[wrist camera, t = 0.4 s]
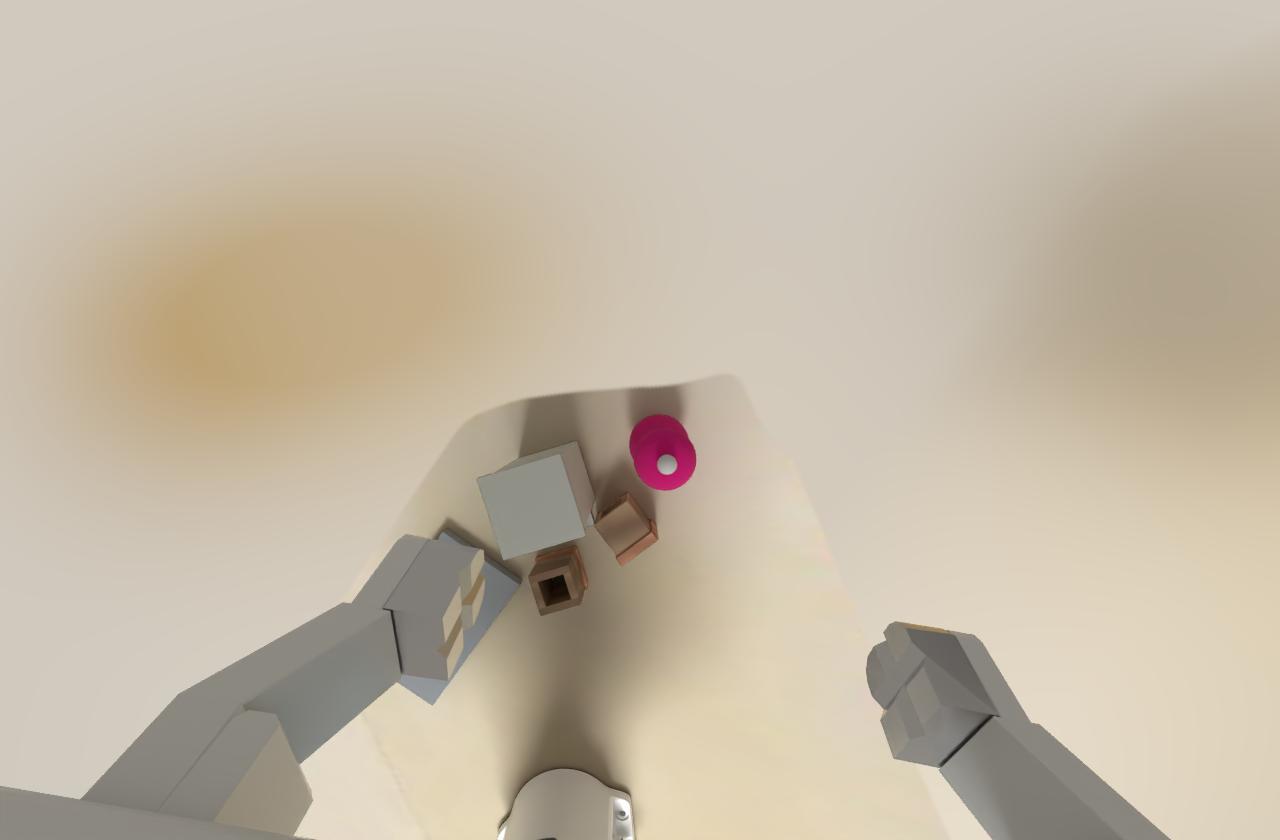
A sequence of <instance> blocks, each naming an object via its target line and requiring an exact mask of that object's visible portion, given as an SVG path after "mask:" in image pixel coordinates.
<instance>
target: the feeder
mask: <svg viewBox="0 0 1280 840" xmlns="http://www.w3.org/2000/svg"><path fill="white" fill-rule="evenodd" d="M477 482H478V485H479V488H480V491H481V494H482V497H483V500H484V503H485V506H486V509H487V512H488V515H489V518H490V521H491V524H492V528H493V531H494V534H495V537H496V540H497V543H498V546H499V549H500V552H501V555H502V558H503V561H504V560H507V559H510V558H514V557H517V556H521V555H524V554H527V553H531V552H534V551H537V550H541V549H544V548H547V547H551V546H554V545H558V544H561V543H564V542H568V541H571V540H574V539H578V538H581V537H585V536H586V534H587V533H586V529H585V527H587V526H590V525H594V523H595V522H594V519H593V515H592V512H591V509H592V506H593V504H594V501H595V496H594V493H593V490H592V487H591V483H590V480H589V477H588V474H587V471H586V467H585V464H584V461H583V458H582V455H581V451H580V448H579V445H578V442H577V441H574V442H571V443H568V444H564V445H561V446H558V447H554V448H551V449H548V450H544V451H541V452H538V453H534V454H531V455H528V456H524V457H521V458H518V459H516V460H515V461H513V462H511V463H509V464H508V465H506V466H504V467H503V468H501V469H499V470H498V471H496V472H494V473H492V474H489V475H485V476H482V477H479V478H477Z"/></svg>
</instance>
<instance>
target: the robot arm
mask: <svg viewBox="0 0 1280 840" xmlns="http://www.w3.org/2000/svg"><path fill="white" fill-rule="evenodd" d="M483 564H484V550H482V549H478V548H474V547H469V546H464V545H459V544H454V543H449V542H444V541H439V540H434V539H428V538H423V537H418V536H413V535H407V534H406V535H404V536H403V537H402V538H400V539H399V540H398V541H397V542H396V543H395V545H394V546H393V547H392V549H391V550H390V551H389V553H388V554H387V555H386V557H385V558H384V560H383V561H382V562H381V564H380V565H379V566H378V568H377V569H376V570H375V572H374V573H373V574H372V576H371V577H370V579H369V580H368V581H367V583H366V584H365V585H364V587H363V588H362V589H361V591H360V592H359V593H358V595H357V596H356V598H355V599H354V600H353V602H352V603H351V604H350V603H341V604H339V605H337V606H336V607H334V608H332V609H330V610H328V611H327V612H325V613H323V614H321V615H320V616H318V617H316V618H314V619H312V620H311V621H309V622H307V623H305V624H303V625H302V626H300V627H298V628H296V629H295V630H293V631H291V632H289V633H287V634H286V635H284V636H282V637H280V638H278V639H276V640H275V641H273V642H271V643H269V644H267V645H266V646H264V647H262V648H261V649H259V650H257V651H255V652H253V653H251V654H250V655H248V656H246V657H244V658H242V659H241V660H239V661H237V662H235V663H234V664H232V665H230V666H228V667H226V668H225V669H223V670H222V671H219V672H217V673H216V674H214V675H212V676H210V677H208V678H207V679H205V680H203V681H201V682H200V683H198V684H196V685H194V686H192V687H190V688H189V689H187V690H185V691H183V692H182V693H180V694H178V695H177V696H176V698H175V699H174V700H173V701H172V702H171V703H170V704H169V705H168V706H167V707H166V708H165V709H164V711H162V712H161V714H160V715H159V716H158V717H157V718H156V719H155V720H154V721H153V722H152V723H151V724H150V725H149V727H147V729H146V730H145V731H144V732H143V733H142V734H141V735H140V736H139V737H138V738H137V739H136V740H135V741H134V743H133V744H132V745H131V746H130V747H129V748H128V749H127V750H126V751H125V752H124V753H123V754H122V756H120V758H119V759H118V760H117V761H116V762H115V763H114V764H113V765H112V766H111V767H110V768H109V769H108V770H107V772H106V773H105V774H104V775H103V776H102V777H101V778H100V779H99V780H98V781H97V782H96V783H95V784H94V786H93V787H92V788H91V789H90V790H89V791H88V792H87V793H86V794H85V795H84V796H83V797H82V798H81V799H80V800H79V799H73V798H68V797H62V796H56V795H50V794H44V793H38V792H33V791H26V790H21V789H15V788H9V787H3V786H0V840H315V839H309V838H303V837H297V836H293V835H294V834H295V832H296V830H297V828H298V826H299V825H300V823H301V821H302V819H303V817H304V816H305V814H306V812H307V810H308V808H309V807H310V805H311V803H312V801H313V798H312V793H311V789H310V787H309V785H308V782H307V780H306V778H305V776H304V774H303V771H302V769H301V767H300V765H299V764H301V763H302V762H303V761H304V760H305V759H307V758H308V757H309V756H310V755H311V754H312V753H314V752H315V751H316V750H317V749H318V748H319V747H321V746H322V745H323V744H324V743H325V742H327V741H328V740H329V739H330V738H331V737H332V736H334V735H335V734H336V733H337V732H338V731H339V730H341V729H342V728H343V727H344V726H345V725H347V724H348V723H349V722H350V721H351V720H352V719H354V718H355V717H356V716H357V715H358V714H359V713H361V712H362V711H363V710H364V709H365V708H367V707H368V706H369V705H370V704H371V703H372V702H374V701H375V700H376V699H377V698H378V697H379V696H381V695H382V694H383V693H384V692H385V691H387V690H388V689H389V688H390V687H391V686H392V685H394V684H395V683H396V682H397V681H398V680H399V679H401V677H402V675H409V676H416V677H423V678H430V679H437V680H444V681H449V679H450V676H451V674H452V672H453V670H454V668H455V665H456V663H457V661H458V659H459V656H460V654H461V652H462V650H463V648H464V647H463V633H464V632H466V631H467V630H468V629H470V628H471V627H473V625H474V623H475V620H476V618H477V615H478V613H479V610H480V606H481V603H482V600H483V595H484V588H485V577H484V576H483V575H482V574H481V573H480V570H481V568H482V566H483ZM884 635H885V638H886V641H884V642H882V643H880V644H878V645H876V646H874V647H873V649H872V651H871V652H870V654H869V656H868V659H867V667H866V674H867V681H868V685H869V688H870V691H871V694H872V697H873V698H874V699H875V700H876V701H877V702H878V703H879V704H880V705H881V707H882V708H883V709H884V711H883V714H882V717H881V720H880V721H881V724H882V726H883V729H884V732H885V735H886V738H887V741H888V744H889V747H890V749H891V752H892V755H893V758H894V759H898V760H903V761H908V762H913V763H918V764H923V765H928V766H933V767H937V768H940V770H939V771H940V773H941V774H942V775H943V777H944V778H945V779H946V780H947V782H948V783H949V784H950V785H951V787H952V788H953V790H954V791H955V792H956V793H957V795H958V796H959V797H960V798H961V800H962V801H963V802H964V804H965V805H966V806H967V808H968V809H969V810H970V811H971V813H972V814H973V815H974V816H975V818H976V819H977V820H978V822H979V823H980V824H981V825H982V827H983V828H984V829H985V831H986V832H987V833H988V835H989V836H990V837H991V838H992V840H1170V839H1169V838H1168V837H1167V836H1166V835H1165V834H1164V833H1162V832H1161V831H1160V830H1159V829H1158V828H1157V827H1156V826H1155V825H1153V824H1152V823H1151V822H1150V821H1149V820H1148V819H1147V818H1145V817H1144V816H1143V815H1142V814H1141V813H1140V812H1138V811H1137V810H1136V809H1135V808H1134V807H1133V806H1132V805H1131V804H1129V803H1128V802H1127V801H1126V800H1125V799H1124V798H1123V797H1122V796H1120V795H1119V794H1118V793H1117V792H1116V791H1114V790H1113V789H1112V788H1111V787H1110V786H1109V785H1108V784H1107V783H1106V782H1104V781H1103V780H1102V779H1101V778H1100V777H1099V776H1097V775H1096V774H1095V773H1094V772H1093V771H1092V770H1091V769H1090V768H1089V767H1087V766H1086V765H1085V764H1084V763H1083V762H1082V761H1080V760H1079V759H1078V758H1077V757H1076V756H1075V755H1074V754H1073V753H1071V752H1070V751H1069V750H1068V749H1067V748H1066V747H1065V746H1063V745H1062V744H1061V743H1060V742H1059V741H1058V740H1056V739H1055V738H1054V737H1053V736H1052V735H1051V734H1050V733H1049V732H1048V731H1046V730H1045V729H1044V728H1043V727H1042V726H1040V725H1039V724H1035V723H1031V722H1030V720H1029V719H1028V717H1027V715H1026V714H1025V712H1024V710H1023V709H1022V707H1021V706H1020V704H1019V702H1018V701H1017V699H1016V697H1015V696H1014V694H1013V692H1012V691H1011V689H1010V687H1009V686H1008V684H1007V682H1006V681H1005V679H1004V677H1003V676H1002V674H1001V672H1000V671H999V669H998V668H997V666H996V664H995V663H994V661H993V659H992V658H991V656H990V654H989V653H988V651H987V649H986V648H985V646H984V644H983V643H982V642H981V641H980V640H979V639H978V638H977V637H976V636H975V635H972V634H966V633H960V632H954V631H949V630H944V629H940V628H933V627H927V626H921V625H915V624H909V623H903V622H894V623H891V624H889V626H888V627H887V628H886V630H885V631H884ZM401 674H402V675H401ZM621 811H624V812H621ZM497 840H635V833H634V824H633V814H632V805H631V798H630V796H629V795H628V794H627V793H625V792H622V791H619V790H616V789H612V788H609V787H607V786H605V785H604V784H603V783H601V782H600V781H599V780H597V779H596V778H594V777H593V776H591V775H589V774H587V773H585V772H582V771H578V770H573V769H555V770H550V771H547V772H544V773H542V774H540V775H538V776H536V777H534V778H533V779H531V780H530V781H529V782H528V783H527V784H525V786H524V787H523V788H522V789H521V790H520V792H519V793H518V795H517V797H516V799H515V801H514V804H513V808H512V811H511V814H510V816H509V818H508V819H507V820H506V821H505V822H504V823H503V824H502V826H501V827H500V829H499V831H498V835H497Z"/></svg>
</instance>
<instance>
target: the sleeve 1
mask: <svg viewBox="0 0 1280 840" xmlns="http://www.w3.org/2000/svg"><path fill="white" fill-rule="evenodd" d="M560 575H564V578H565V581H566V583H562V584H559V585H555V586H554V583H553V580H552V578H553V577H556V576H560ZM528 578H529V581H530V584H531V587H532V591H533V594H534V597H535V600H536V603H537V606H538V609H539V612H540V615H541V616H543V615H546V614H549V613H553V612H556V611H559V610H563V609H566V608H570V607H573V606H576V605H580V604H581V601H582V597H583V593H584V590H585V589H587V587H588V580H587V577H586V574H585V571H584V568H583V565H582V561H581V558H580V555H579V552H578V549H577V548H576V546H572V547H569V548H565V549H562V550H559V551H555V552H552V553H549V554H545V555H542V556H538V557H537V558H536V559H535V566H534V568H533V569H532V571H531V573H530V575H529V576H528Z"/></svg>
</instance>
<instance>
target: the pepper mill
mask: <svg viewBox="0 0 1280 840" xmlns="http://www.w3.org/2000/svg"><path fill="white" fill-rule="evenodd" d="M629 448H630V453H631V455H632V458H633V460H634V466H635V469H636V472H637V474H638V476H639V477H640V478H641V479H642V481H643V482H644V483H646V484H647V485H648V486H650V487H652V488H654V489H658V490H664V491H665V490H673V489H676V488H678V487H680V486H682V485H683V484H685V483H686V482H687V481H688V480H689V479H690V477H691V476H692V474H693V472H694V470H695V466H696V453H695V449H694V447H693V444H692V443H691V441H690V440H689V438H688V435H687V432H686V430H685V429H684V427H683V426H682V425H681V424H680V423H679V422H678V421H677V420H676V419H674V418H672V417H670V416H666V415H652V416H649V417H646V418H645V419H643V420H641V421H640V422H639V423H638V424H637V425H636V426H635V428H634V429H633V431H632V434H631V436H630V441H629Z"/></svg>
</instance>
